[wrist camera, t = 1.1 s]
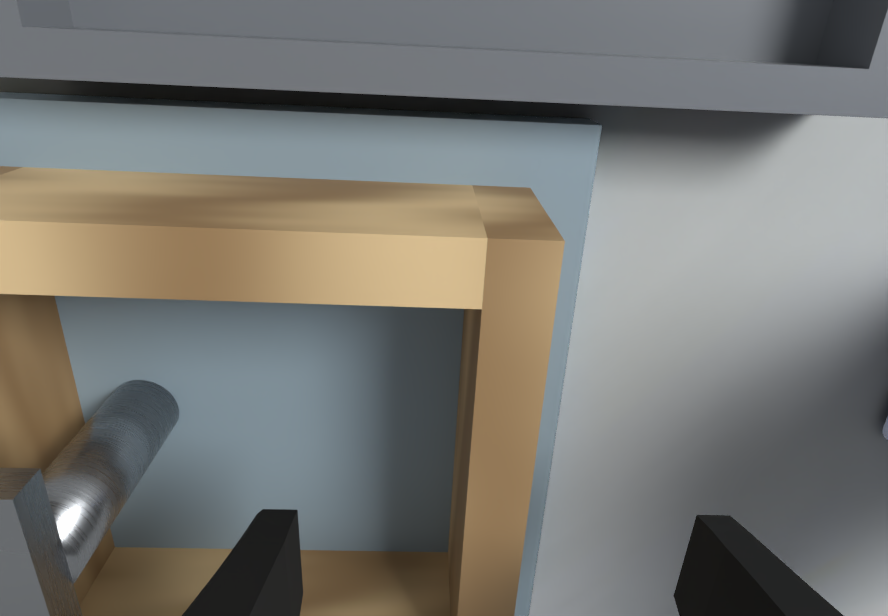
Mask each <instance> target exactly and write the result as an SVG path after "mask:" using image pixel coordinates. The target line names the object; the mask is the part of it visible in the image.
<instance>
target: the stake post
mask: <svg viewBox="0 0 888 616" xmlns="http://www.w3.org/2000/svg"><path fill="white" fill-rule="evenodd" d="M178 419H179V407H178V404H177V402H176V400H175V398H174V397H173V396H172V394H171V393H170V392H169V391H168V390H166V389H165V388H164V387H162V386H160V385H158V384H156V383H154V382H150V381H146V380H131V381H128V382H125V383H123V384H121V385H119V386H118V387H117V388H116V389H115V390H114V392H113V393H112V394H111V395H110V396H109V397H108V398H107V400H106V401H105V402H104V403H103V404H102V405H101V407H100V408H99V409H98V410H97V411H96V412H95V413H94V415H93V416H92V417H91V418H90V419H89V420H88V421H87V423H86V424H85V425H84V426H83V427H82V428H81V430H80V431H79V432H78V433H77V434H76V435H75V436H74V438H73V439H72V440H71V441H70V442H69V443H68V444H67V446H66V447H65V448H64V449H63V450H62V451H61V453H60V454H59V455H58V456H57V457H56V458H55V459H54V461H53V462H52V463H51V464H50V465H49V466H48V467H47V469H46V470H45V471H44V472H43V473H41V470H40V468H0V616H83V615H82V612H81V608H80V605H79V601H78V598H77V594H76V591H75V587H74V583H75V581H76V580H77V578H78V577H79V575H80V574H81V572H82V571H83V569H84V567H85V566H86V564H87V563H88V561H89V560H90V558H91V556H92V555H93V553H94V552H95V550H96V549H97V547H98V546H99V544H100V542H101V541H102V539H103V538H104V536H105V535H106V533H107V531H108V530H109V528H110V527H111V525H112V524H113V522H114V520H115V519H116V517H117V516H118V514H119V513H120V511H121V510H122V508H123V506H124V505H125V503H126V502H127V500H128V499H129V497H130V495H131V494H132V492H133V491H134V489H135V488H136V486H137V484H138V483H139V481H140V480H141V478H142V477H143V475H144V474H145V472H146V470H147V469H148V467H149V466H150V464H151V463H152V461H153V459H154V458H155V456H156V455H157V453H158V452H159V450H160V448H161V447H162V445H163V444H164V442H165V441H166V439H167V437H168V436H169V434H170V433H171V431H172V430H173V428H174V427H175V425H176V423H177V421H178Z"/></svg>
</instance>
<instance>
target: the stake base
mask: <svg viewBox="0 0 888 616" xmlns="http://www.w3.org/2000/svg"><path fill="white" fill-rule="evenodd" d="M601 129H602V125H600V124H598V123H597V122H595V121H593V120H591V119H584V118H562V117H540V116H518V115H496V114H474V113H452V112H430V111H408V110H386V109H364V108H342V107H320V106H298V105H276V104H254V103H232V102H210V101H188V100H166V99H144V98H122V97H100V96H78V95H56V94H34V93H12V92H0V166H9V167H34V168H58V169H83V170H108V171H132V172H157V173H182V174H206V175H231V176H256V177H280V178H305V179H330V180H354V181H379V182H404V183H428V184H453V185H478V186H502V187H527V188H531V190H532V191H533V193H534V194H535V196H536V197H537V199H538V200H539V202H540V204H541V205H542V207H543V208H544V210H545V211H546V213H547V214H548V216H549V217H550V219H551V220H552V222H553V224H554V225H555V227H556V228H557V230H558V231H559V233H560V234H561V236H562V237H563V239H564V240H565V245H564V252H563V260H562V267H561V274H560V282H559V289H558V296H557V304H556V311H555V319H554V326H553V333H552V341H551V348H550V355H549V363H548V370H547V378H546V385H545V392H544V400H543V407H542V414H541V422H540V429H539V437H538V444H537V451H536V459H535V466H534V473H533V481H532V488H531V496H530V503H529V510H528V518H527V525H526V532H525V540H524V547H523V555H522V562H521V569H520V577H519V584H518V592H517V599H516V606H515V614H514V616H529V610H530V603H531V596H532V590H533V583H534V576H535V570H536V563H537V556H538V550H539V543H540V536H541V529H542V523H543V516H544V509H545V503H546V496H547V489H548V483H549V476H550V469H551V463H552V456H553V449H554V443H555V436H556V429H557V423H558V416H559V409H560V403H561V396H562V389H563V382H564V376H565V369H566V362H567V356H568V349H569V342H570V336H571V329H572V322H573V316H574V309H575V302H576V296H577V289H578V282H579V276H580V269H581V262H582V256H583V249H584V242H585V235H586V229H587V222H588V215H589V209H590V202H591V195H592V189H593V182H594V175H595V169H596V162H597V155H598V149H599V142H600V135H601ZM55 300H56V305H57V309H58V313H59V317H60V321H61V325H62V329H63V334H64V338H65V342H66V346H67V350H68V354H69V359H70V363H71V367H72V371H73V375H74V379H75V383H76V388H77V392H78V396H79V400H80V404H81V408H82V413H83V417H84V421H85V424H86V423H87V421H88V420H89V419H90V418H91V417H92V416H93V415H94V413H95V412H96V411H97V410H98V409H99V408H100V407H101V405H102V404H103V403H104V402H105V401H106V400H107V398H108V397H109V396H110V395H111V394H112V393H113V392H114V390H115V389H116V388H117V387H118V386H119V385H121V384H123V383H125V382H128V381H131V380H146V381H150V382H154V383H156V384H158V385H160V386H162V387H164V388H165V389H166V390H168V391H169V392H170V393H171V394H172V396H173V397H174V398H175V400H176V402H177V404H178V407H179V419H178V421H177V423H176V425H175V427H174V428H173V430H172V431H171V433H170V434H169V436H168V437H167V439H166V441H165V442H164V444H163V445H162V447H161V448H160V450H159V452H158V453H157V455H156V456H155V458H154V459H153V461H152V463H151V464H150V466H149V467H148V469H147V470H146V472H145V474H144V475H143V477H142V478H141V480H140V481H139V483H138V484H137V486H136V488H135V489H134V491H133V492H132V494H131V495H130V497H129V499H128V500H127V502H126V503H125V505H124V506H123V508H122V510H121V511H120V513H119V514H118V516H117V517H116V519H115V520H114V522H113V524H112V525H111V527H110V529H111V533H112V537H113V541H114V545H115V547H140V548H205V549H233V548H234V547H235V545H236V544H237V542H238V541H239V540H240V538H241V537H242V535H243V534H244V532H245V531H246V529H247V528H248V526H249V525H250V524H251V522H252V520H253V519H254V517H255V516H256V514H257V513H259V512H260V511H261V510H262V509H291V510H298V524H299V538H300V550H335V551H401V552H448V544H449V529H450V514H451V499H452V484H453V469H454V454H455V439H456V424H457V409H458V394H459V379H460V363H461V348H462V333H463V318H464V309H457V308H426V307H394V306H363V305H332V304H301V303H270V302H238V301H207V300H176V299H145V298H114V297H83V296H55Z"/></svg>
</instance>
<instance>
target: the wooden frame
mask: <svg viewBox="0 0 888 616" xmlns="http://www.w3.org/2000/svg"><path fill="white" fill-rule="evenodd" d="M564 245H565V240H564V239H563V237H562V236H561V234H560V233H559V231H558V230H557V228H556V227H555V225H554V224H553V222H552V220H551V219H550V217H549V216H548V214H547V213H546V211H545V210H544V208H543V207H542V205H541V204H540V202H539V200H538V199H537V197H536V196H535V194H534V193H533V191H532V190H531V188H527V187H502V186H478V185H453V184H428V183H404V182H379V181H354V180H330V179H305V178H280V177H256V176H231V175H206V174H182V173H157V172H132V171H108V170H83V169H58V168H34V167H9V166H0V468H40V470H41V473H43V472H44V471H45V470H46V469H47V467H48V466H49V465H50V464H51V463H52V462H53V461H54V459H55V458H56V457H57V456H58V455H59V454H60V453H61V451H62V450H63V449H64V448H65V447H66V446H67V444H68V443H69V442H70V441H71V440H72V439H73V438H74V436H75V435H76V434H77V433H78V432H79V431H80V430H81V428H82V427H83V426H84V425H85V421H84V417H83V413H82V408H81V404H80V400H79V396H78V392H77V388H76V383H75V379H74V375H73V371H72V367H71V363H70V359H69V354H68V350H67V346H66V342H65V338H64V334H63V329H62V325H61V321H60V317H59V313H58V309H57V305H56V300H55V296H83V297H114V298H145V299H176V300H207V301H238V302H270V303H301V304H332V305H363V306H394V307H426V308H457V309H464V318H463V333H462V348H461V363H460V379H459V394H458V409H457V424H456V439H455V454H454V469H453V484H452V499H451V514H450V529H449V544H448V552H401V551H335V550H300V552H301V567H302V581H303V598H302V604H301V611H300V616H514V614H515V606H516V599H517V592H518V584H519V577H520V569H521V562H522V555H523V547H524V540H525V532H526V525H527V518H528V510H529V503H530V496H531V488H532V481H533V473H534V466H535V459H536V451H537V444H538V437H539V429H540V422H541V414H542V407H543V400H544V392H545V385H546V378H547V370H548V363H549V355H550V348H551V341H552V333H553V326H554V319H555V311H556V304H557V296H558V289H559V282H560V274H561V267H562V260H563V252H564ZM231 551H232V549H205V548H140V547H115V545H114V541H113V537H112V533H111V529H110V528H109V530H108V531H107V533H106V535H105V536H104V538H103V539H102V541H101V542H100V544H99V546H98V547H97V549H96V550H95V552H94V553H93V555H92V556H91V558H90V560H89V561H88V563H87V564H86V566H85V567H84V569H83V571H82V572H81V574H80V575H79V577H78V578H77V580H76V581H75V583H74V587H75V591H76V594H77V598H78V601H79V605H80V608H81V612H82V615H83V616H182V615H183V613H184V612H185V611H186V610H187V608H188V607H189V606H190V605H191V603H192V602H193V601H194V599H195V598H196V597H197V596H198V594H199V593H200V592H201V591H202V589H203V588H204V587H205V585H206V584H207V583H208V582H209V580H210V579H211V578H212V577H213V575H214V574H215V573H216V571H217V570H218V569H219V567H220V566H221V565H222V563H223V562H224V560H225V559H226V558H227V556H228V555H229V554H230V552H231Z"/></svg>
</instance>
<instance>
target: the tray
mask: <svg viewBox="0 0 888 616" xmlns="http://www.w3.org/2000/svg"><path fill="white" fill-rule="evenodd" d="M0 77H11V78H32V79H54V80H76V81H97V82H119V83H140V84H162V85H183V86H205V87H226V88H248V89H269V90H291V91H312V92H334V93H355V94H377V95H398V96H420V97H441V98H463V99H484V100H506V101H527V102H549V103H570V104H592V105H613V106H635V107H656V108H678V109H699V110H721V111H742V112H764V113H785V114H807V115H828V116H850V117H871V118H888V0H0Z"/></svg>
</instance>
